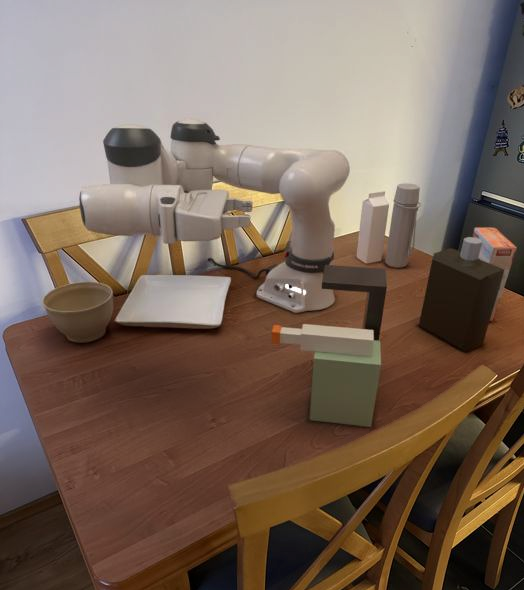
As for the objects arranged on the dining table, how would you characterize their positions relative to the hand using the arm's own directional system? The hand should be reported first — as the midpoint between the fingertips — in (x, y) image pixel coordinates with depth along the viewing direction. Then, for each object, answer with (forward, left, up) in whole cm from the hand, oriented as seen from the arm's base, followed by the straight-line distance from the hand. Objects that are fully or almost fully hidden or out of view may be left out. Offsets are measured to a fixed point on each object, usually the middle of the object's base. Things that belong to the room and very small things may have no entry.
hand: (251, 213), depth 86 cm
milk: (-2, +77, -38) cm, 86 cm away
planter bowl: (-48, -3, -38) cm, 61 cm away
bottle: (+32, +42, -38) cm, 65 cm away
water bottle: (+8, +77, -38) cm, 86 cm away
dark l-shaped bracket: (+16, +12, -38) cm, 43 cm away
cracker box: (+35, +59, -38) cm, 78 cm away
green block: (+20, +1, -38) cm, 43 cm away
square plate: (-36, +19, -38) cm, 55 cm away
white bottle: (+15, 0, -23) cm, 27 cm away
